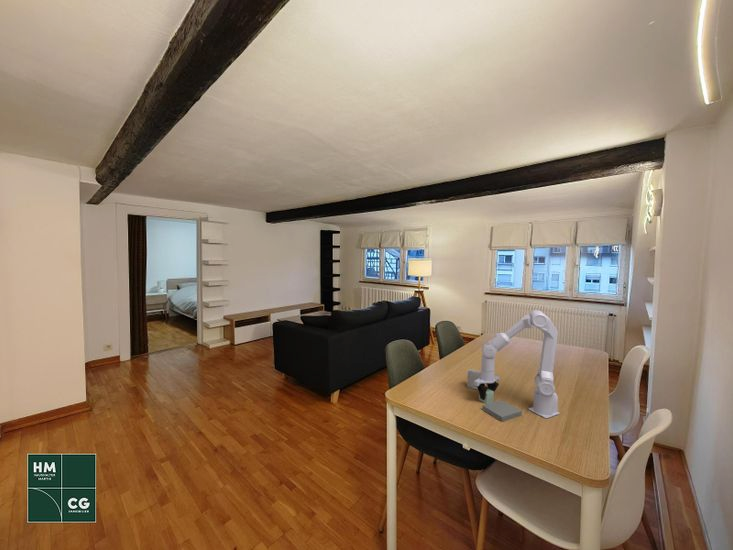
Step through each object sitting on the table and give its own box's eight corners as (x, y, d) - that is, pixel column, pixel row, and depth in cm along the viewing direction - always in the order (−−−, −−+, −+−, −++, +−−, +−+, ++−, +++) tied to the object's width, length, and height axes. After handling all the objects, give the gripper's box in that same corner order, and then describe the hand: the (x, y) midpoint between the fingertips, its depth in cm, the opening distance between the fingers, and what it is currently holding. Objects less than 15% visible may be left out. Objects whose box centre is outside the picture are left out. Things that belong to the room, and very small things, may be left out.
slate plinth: (501, 404, 130) (501, 400, 130) (521, 415, 121) (521, 410, 121) (482, 409, 125) (482, 405, 124) (501, 421, 116) (502, 417, 115)
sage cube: (485, 397, 135) (486, 387, 135) (493, 402, 131) (494, 391, 131) (478, 399, 134) (479, 389, 133) (486, 404, 129) (487, 393, 129)
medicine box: (484, 388, 146) (485, 371, 145) (483, 391, 142) (484, 374, 141) (468, 384, 150) (469, 368, 149) (466, 387, 146) (467, 371, 145)
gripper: (491, 364, 138) (490, 391, 139) (469, 368, 132) (468, 397, 133) (504, 369, 132) (502, 397, 133) (481, 374, 126) (480, 404, 127)
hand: (486, 398), depth 132 cm, fingers closed on sage cube, 4 cm apart
